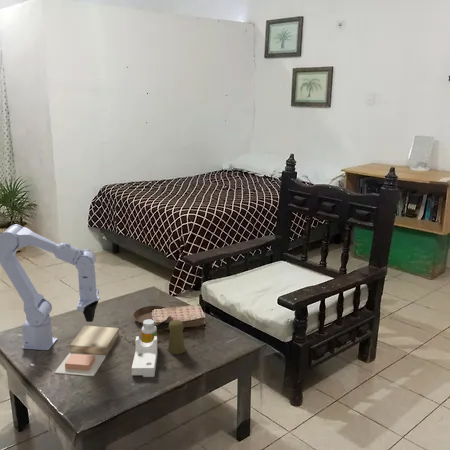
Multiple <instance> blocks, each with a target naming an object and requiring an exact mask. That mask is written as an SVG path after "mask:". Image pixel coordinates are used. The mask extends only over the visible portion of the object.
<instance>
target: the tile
mask: <svg viewBox="0 0 450 450" xmlns="http://www.w3.org/2000/svg"><path fill="white" fill-rule="evenodd" d="M94 362H95V355H94V354H93V355H83V354H81V353H80V354H71V356H70V357H69V358H68V360H67V361H66V362H65V369H73V370H86V371H89V370H90V368H91V367H92V365H93V364H94Z"/></svg>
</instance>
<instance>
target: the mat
mask: <svg viewBox="0 0 450 450" xmlns="http://www.w3.org/2000/svg"><path fill="white" fill-rule="evenodd" d="M71 354H81V353H70V352H69V353H68V354H67V355H66V357H65V358H64V359H63V361H62V362H61V363H60V364H59V366H58V367H57V369H55V371H54V374H57V375H58V374H61V375H70V376H71V375H72V376H86V377H95V375H96V373H97V372H98V371H99V368H100V367H101V365H102V363H103V362H104V361H105V359H106V358H107V355H95V362H94V364H93V365H92V367H91V368H90V370H89V371H86V370H73V369H65V362H66V361H67V360H68V358H69V357H70V356H71ZM83 355H94V354H83Z"/></svg>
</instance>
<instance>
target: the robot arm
mask: <svg viewBox="0 0 450 450" xmlns="http://www.w3.org/2000/svg"><path fill="white" fill-rule="evenodd" d="M28 246H32V247H35V248H39V249H41V250H44V251H46V252H50V253H52V254H54V256H55V258H56V259H58V260H61V261H63V262H65V263H67V264H70V265H73V266H75V268H76V269H77V278H78V291H79V298H78V304H77V306H76V309H77V312H82V313H83V316H84V319H85V322H87V323H92V322H93V321H94V318H95V314H96V309H97V306H98V304H99V301H100V300H101V296H98V295H99V294H100V289H99V288H97V283H96V282H97V281H96V279H97V277H96V272H95V270H96V268H95V263H96V260H97V258H96V257H97V256H96V254H95V253H94V252H93V251H91V250H90V249H83V248H81V249H80V248H78V247H76V246H74V245H71V242H66V243H65V242H60V243H57V242H55V241H53V240H51V239H49V238H46V237H44V236H42V235H41V234H38V233H36V232H34V231H32V230H31V229H30V228H28V227H25V226H24V227H23V226H22V225H20V224H18V223H17V224H11V225H10V226H8V227H7V229H6V230H4V231H3V232H2V233H0V266H1V267H2V268H3V270H4V273H5V274H6V275H7V277H8V279H9V280H10V282H11V283H12V285H13V287H14V289H15V290H16V291H17V293H18V295H19V297H20V298H21V300H22V302H23V312H24V313H25V318H26V319H25V321H24V323H23V324H22V328H21V334H22V343H23V346H22V349H25V350H37V351H49V350H50V349H51V348H52V347H53V345H55V343H56V342H57V341H58V337H53V327H52V318H51V315H50V313H51V312H52V311H53V306H52V304H51V302H50V301H49V300H47V298H45V296H44V295H43V294H41V293H39V292H38V291H37V289H36V287H35V286H34V284H33V283H32V281H31V279H30V278H29V275H28V274H27V273H26V271H25V268H24V267H23V266H22V264H21V262H20V260H19V259H18V257H17V256H16V254H17V252H18V249H19V248H20V249H21V248H25V247H28Z"/></svg>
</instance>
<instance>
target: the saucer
mask: <svg viewBox="0 0 450 450" xmlns="http://www.w3.org/2000/svg"><path fill="white" fill-rule="evenodd" d="M162 308H166V307H165V306H161V305H148V306H146V305H145V306H143V307H140V308H137V309H136V310H135V311H134V312H133V314H132V315H133V316H132V317H133V319H134V320H135V321H136V322H137V323H139V325H142V326H143V321H144V320H147V319H151V312H152V310H154V309H162Z"/></svg>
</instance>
